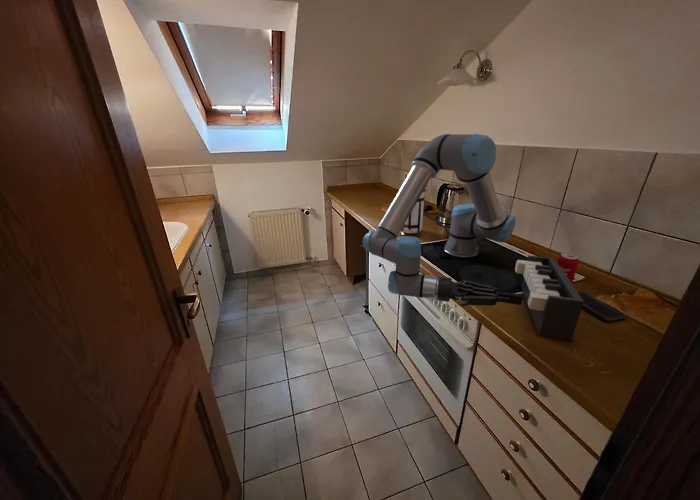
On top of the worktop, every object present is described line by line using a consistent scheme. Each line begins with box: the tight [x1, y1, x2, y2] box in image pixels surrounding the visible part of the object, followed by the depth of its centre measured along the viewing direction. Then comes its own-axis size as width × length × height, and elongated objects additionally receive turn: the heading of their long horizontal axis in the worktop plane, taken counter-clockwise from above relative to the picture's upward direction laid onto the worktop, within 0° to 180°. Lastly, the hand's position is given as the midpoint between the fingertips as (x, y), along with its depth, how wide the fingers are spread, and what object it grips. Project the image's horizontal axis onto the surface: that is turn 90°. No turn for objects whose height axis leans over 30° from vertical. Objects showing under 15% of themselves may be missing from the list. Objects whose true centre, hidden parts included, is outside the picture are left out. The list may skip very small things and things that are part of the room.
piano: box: [520, 254, 584, 342], centre depth 95 cm, size 29×10×13 cm, turn 161°
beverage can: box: [556, 252, 580, 284], centre depth 109 cm, size 6×6×12 cm
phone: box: [577, 291, 626, 323], centre depth 98 cm, size 8×1×15 cm
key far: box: [514, 259, 542, 275], centre depth 105 cm, size 3×8×4 cm, turn 71°
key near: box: [527, 292, 557, 311], centre depth 85 cm, size 3×8×4 cm, turn 71°
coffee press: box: [399, 188, 426, 237], centre depth 162 cm, size 17×16×30 cm
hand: (521, 299), depth 87 cm, fingers closed
